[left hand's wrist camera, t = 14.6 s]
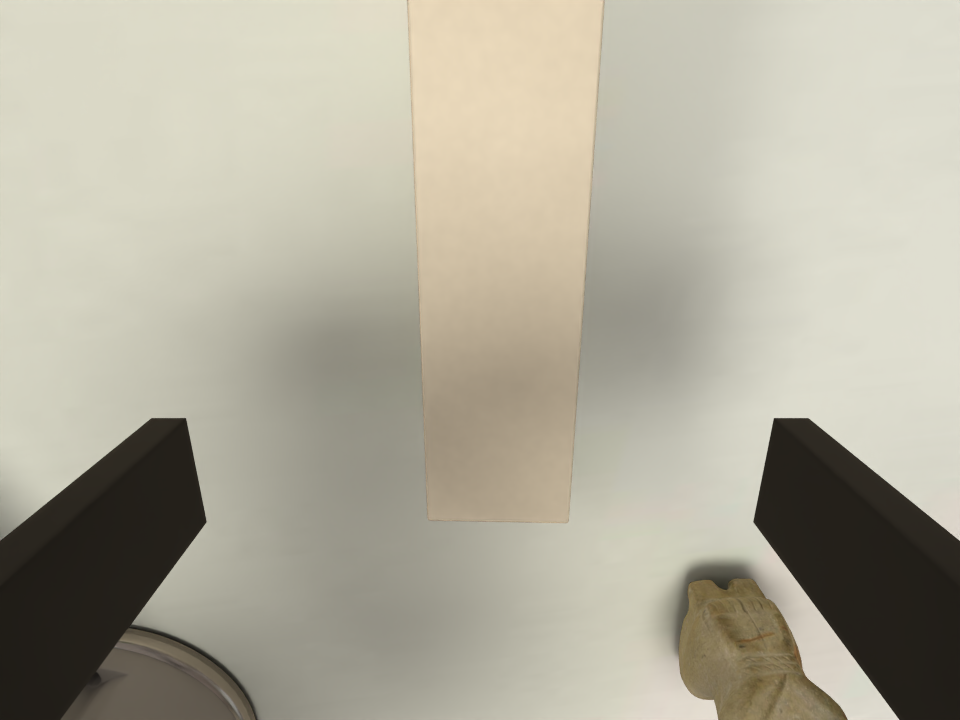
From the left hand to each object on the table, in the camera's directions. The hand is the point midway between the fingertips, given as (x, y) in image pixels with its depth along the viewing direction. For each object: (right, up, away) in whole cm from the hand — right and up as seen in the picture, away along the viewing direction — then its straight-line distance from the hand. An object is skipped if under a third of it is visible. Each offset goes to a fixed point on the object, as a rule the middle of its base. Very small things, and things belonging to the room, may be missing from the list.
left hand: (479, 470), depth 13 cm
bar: (+1, +26, +4) cm, 26 cm away
